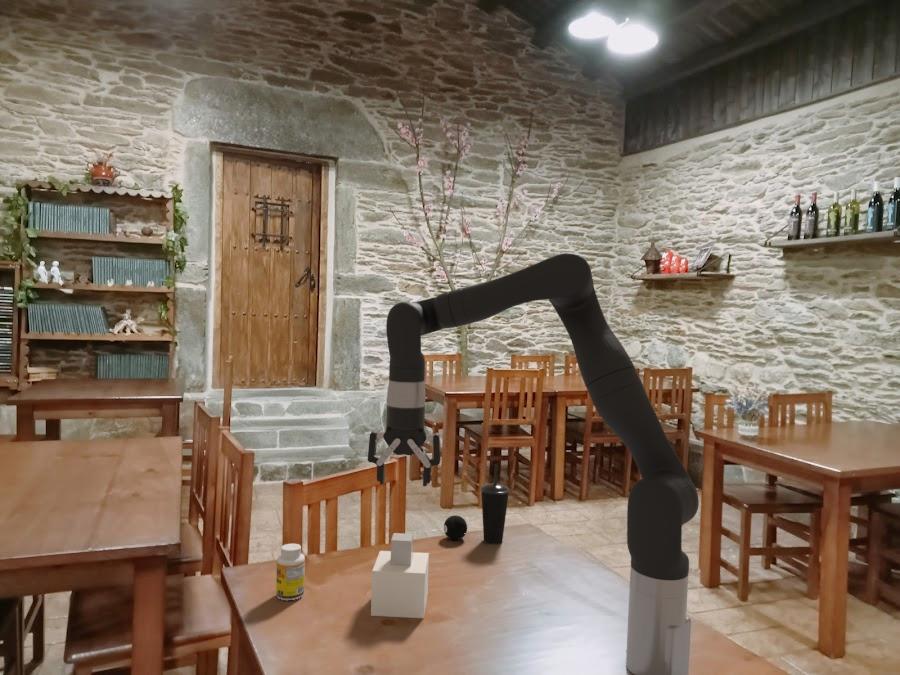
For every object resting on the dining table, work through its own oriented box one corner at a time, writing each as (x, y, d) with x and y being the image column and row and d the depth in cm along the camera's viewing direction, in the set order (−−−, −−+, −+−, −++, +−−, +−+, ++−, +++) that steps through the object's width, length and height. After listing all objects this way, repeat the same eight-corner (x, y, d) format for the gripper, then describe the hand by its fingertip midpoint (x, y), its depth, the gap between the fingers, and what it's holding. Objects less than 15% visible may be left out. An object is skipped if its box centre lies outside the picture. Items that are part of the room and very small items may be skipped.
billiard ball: (439, 536, 166) (440, 513, 166) (460, 533, 169) (461, 511, 168) (449, 544, 161) (450, 521, 160) (470, 541, 163) (471, 518, 163)
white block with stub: (427, 594, 132) (429, 529, 131) (423, 618, 122) (426, 547, 121) (378, 592, 132) (380, 527, 132) (370, 615, 122) (372, 545, 122)
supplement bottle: (275, 591, 131) (276, 542, 131) (303, 588, 133) (304, 540, 132) (276, 603, 126) (277, 553, 125) (305, 600, 127) (306, 550, 127)
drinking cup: (506, 547, 160) (509, 469, 159) (476, 544, 161) (479, 466, 160) (509, 537, 167) (512, 462, 166) (480, 534, 169) (483, 459, 168)
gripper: (443, 402, 129) (440, 481, 129) (373, 399, 129) (370, 478, 130) (441, 407, 121) (438, 491, 122) (367, 404, 122) (364, 488, 122)
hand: (403, 484), depth 126 cm, fingers open, 8 cm apart
